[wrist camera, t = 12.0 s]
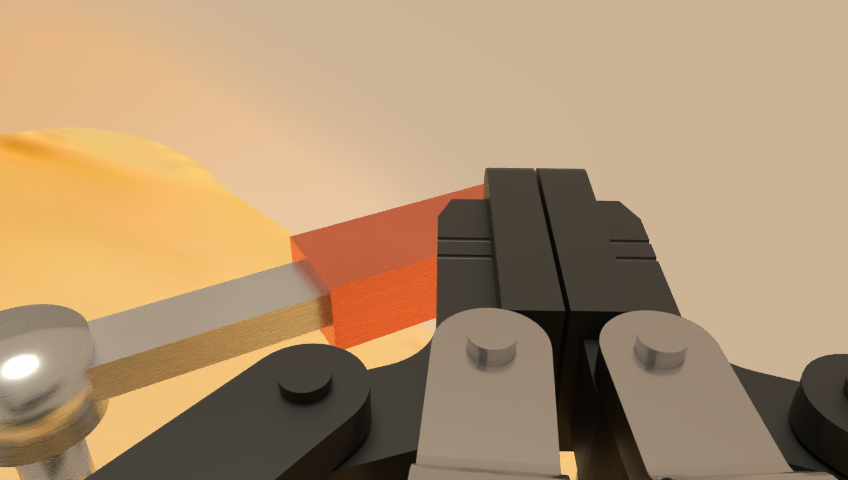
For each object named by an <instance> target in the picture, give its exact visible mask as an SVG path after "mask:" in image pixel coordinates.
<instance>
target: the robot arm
mask: <svg viewBox="0 0 848 480" xmlns="http://www.w3.org/2000/svg"><path fill="white" fill-rule="evenodd" d="M559 451H574V455H575V460H576V465H577V473H576V479H575V480H848V354H833V355H826V356H823V357H820V358H817V359H815V360H814V361H812V362H810V363H809V364H808V365H807V366H806V368H805V370H804V371H803V373H802V376H801V379H800V382H797V381H793V380H789V379H785V378H781V377H776V376H772V375H768V374H764V373H759V372H755V371H751V370H748V369H745V368H741V367H738V366H736V365H733V364H731V363H729V362H728V360H727V358H726V356H725V355H724V353H723V351H722V350H721V348H720V346H719V345H718V343H717V342H716V340H715V339H714V338H713V337H712V336H711V335H710V334H709V333H708V332H707V331H706V330H704V329H703V328H702V327H700V326H699V325H697V324H695V323H693V322H692V321H689V320H687V319H685V318H683V317H681V315H680V312H679V310H678V307H677V305H676V303H675V300H674V298H673V295H672V293H671V291H670V288H669V286H668V284H667V281H666V279H665V277H664V274H663V272H662V269H661V267H660V264H659V262H658V261H656V255H655V253H654V251H653V248H652V245H651V244H649V238H648V236H647V234H646V232H645V229H644V226H643V224H642V222H641V219H640V218H638V217H637V216H636V215H635V214H634V213H632V212H631V211H630V210H629V209H628V208H627V207H625V206H624V205H623V204H622V203H621V202H619V201H596V199H595V196H594V193H593V190H592V187H591V184H590V181H589V178H588V175H587V172H586V170H584V169H548V168H543V169H542V168H537V169H536V171H534V169H533V168H486V170H485V177H484V193H483V199H451V201H450V202H449V203H448V204H447V206H446V207H445V208H444V209H443V211H442V212H441V213H440V214H439V216H438V236H437V292H436V331H435V333H434V335H433V337H432V339H431V340H430V342H429V343H428V344H427V345H426V346H425V347H424V348H423V349H422V350H420V351H419V352H418V353H416V354H415V355H413V356H411V357H409V358H407V359H405V360H403V361H400V362H398V363H394V364H390V365H387V366H382V367H378V368H374V369H369V370H367V369H366V367H365V366H364V364H363V363H362V362H361V361H360V360H359V359H358V358H357V357H356V356H354V355H353V354H352V353H350V352H348V351H346V350H344V349H342V348H338V347H335V346H331V345H325V344H301V345H295V346H290V347H287V348H284V349H281V350H278V351H276V352H274V353H271V354H270V355H268V356H266V357H265V358H263V359H261V360H260V361H258V362H257V363H255V364H254V365H253V366H251V367H250V368H248V369H247V370H245V371H244V372H242V373H241V374H239V375H238V376H236V377H235V378H233V379H232V380H230V381H229V382H227V383H226V384H224V385H223V386H221V387H220V388H219V389H217V390H216V391H214V392H213V393H211V394H210V395H208V396H207V397H205V398H204V399H202V400H201V401H199V402H198V403H196V404H195V405H193V406H192V407H190V408H189V409H187V410H186V411H185V412H183V413H182V414H180V415H179V416H177V417H176V418H174V419H173V420H171V421H170V422H168V423H167V424H165V425H164V426H162V427H161V428H159V429H158V430H156V431H155V432H153V433H152V434H151V435H149V436H148V437H146V438H145V439H143V440H142V441H140V442H139V443H137V444H136V445H134V446H133V447H131V448H130V449H128V450H127V451H125V452H124V453H122V454H121V455H119V456H118V457H116V458H115V459H114V460H112V461H111V462H109V463H108V464H106V465H105V466H103V467H102V468H100V469H99V470H97V471H96V472H94V473H93V474H91V475H90V476H88V477H87V478H85V479H84V480H570V478H569V476H568V475H561V468H560V455H559Z"/></svg>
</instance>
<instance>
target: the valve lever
mask: <svg viewBox="0 0 848 480" xmlns="http://www.w3.org/2000/svg"><path fill="white" fill-rule="evenodd" d="M483 193H484V184H482V185H478V186H475V187H471V188H467V189H464V190H460V191H457V192H453V193H449V194H446V195H442V196H438V197H434V198H431V199H427V200H423V201H420V202H416V203H412V204H409V205H405V206H401V207H398V208H394V209H390V210H387V211H383V212H380V213H376V214H372V215H368V216H365V217H361V218H357V219H354V220H350V221H346V222H343V223H339V224H335V225H332V226H328V227H325V228H321V229H317V230H313V231H310V232H306V233H302V234H299V235H295V236H291V237H290V243H291V251H292V260H293V263H290V264H287V265H283V266H280V267H276V268H273V269H269V270H266V271H262V272H259V273H255V274H252V275H248V276H245V277H241V278H238V279H234V280H231V281H227V282H224V283H220V284H217V285H214V286H210V287H207V288H203V289H200V290H196V291H193V292H189V293H186V294H182V295H179V296H175V297H172V298H168V299H165V300H161V301H158V302H154V303H151V304H148V305H144V306H141V307H137V308H134V309H130V310H127V311H123V312H120V313H116V314H113V315H109V316H106V317H102V318H99V319H95V320H92V321H88V322H87V321H86V320H85V318H84V317H83V316H82V315H81V314H79V313H78V312H76V311H74V310H72V309H69V308H67V307H63V306H58V305H47V304H40V305H27V306H21V307H15V308H11V309H7V310H3V311H0V467H16V466H23V465H28V464H32V463H36V462H39V461H43V460H46V459H48V458H51V457H53V456H56V455H58V454H60V453H62V452H64V451H66V450H67V449H69V448H71V447H73V446H74V445H76V444H77V443H78V442H80V441H81V440H83V439H84V438H85V437H86V436H87V435H88V434H90V433H91V432H92V431H93V429H94V428H95V427H96V426H97V425H98V424H99V422H100V421H101V419H102V418H103V416H104V414H105V412H106V410H107V407H108V403H109V398H112V397H115V396H118V395H121V394H124V393H127V392H130V391H133V390H136V389H139V388H143V387H146V386H149V385H152V384H155V383H158V382H161V381H164V380H167V379H170V378H173V377H176V376H179V375H182V374H185V373H188V372H191V371H194V370H197V369H200V368H203V367H206V366H209V365H212V364H215V363H218V362H221V361H224V360H227V359H230V358H233V357H236V356H239V355H242V354H246V353H249V352H252V351H255V350H258V349H261V348H264V347H267V346H270V345H273V344H276V343H279V342H282V341H285V340H288V339H291V338H294V337H297V336H300V335H303V334H306V333H309V332H312V331H315V330H318V329H320V331H321V332H322V333H323V335H324V336H325V338H326V339H327V341H328V342H329V343H330V345H331V346H335V347H338V348H342V349H347V348H350V347H353V346H356V345H359V344H362V343H365V342H367V341H370V340H373V339H376V338H379V337H382V336H385V335H388V334H391V333H393V332H396V331H399V330H402V329H405V328H408V327H411V326H414V325H417V324H419V323H422V322H425V321H428V320H431V319H434V318H436V292H437V236H438V216H439V214H440V213H441V212H442V211H443V209H444V208H445V207H446V206H447V204H448V203H449V202H450V201H451V199H483Z"/></svg>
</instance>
